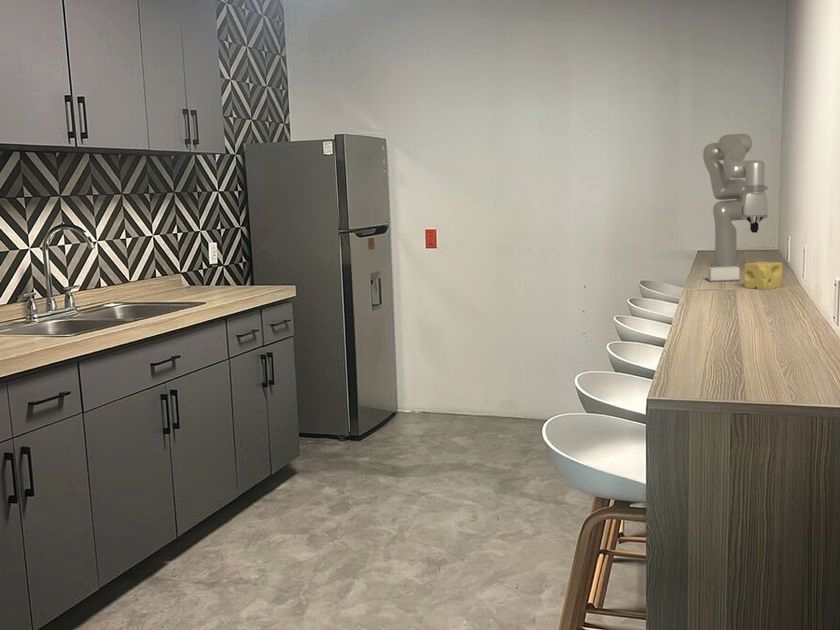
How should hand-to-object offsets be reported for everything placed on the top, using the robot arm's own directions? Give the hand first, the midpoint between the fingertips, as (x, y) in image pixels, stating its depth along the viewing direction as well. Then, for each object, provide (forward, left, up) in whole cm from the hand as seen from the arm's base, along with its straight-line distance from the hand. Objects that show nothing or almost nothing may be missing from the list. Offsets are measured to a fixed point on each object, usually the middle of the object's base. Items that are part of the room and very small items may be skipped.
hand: (754, 232), depth 368 cm
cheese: (+34, -6, -19) cm, 40 cm away
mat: (+9, -16, -19) cm, 26 cm away
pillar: (+9, -9, -16) cm, 21 cm away
